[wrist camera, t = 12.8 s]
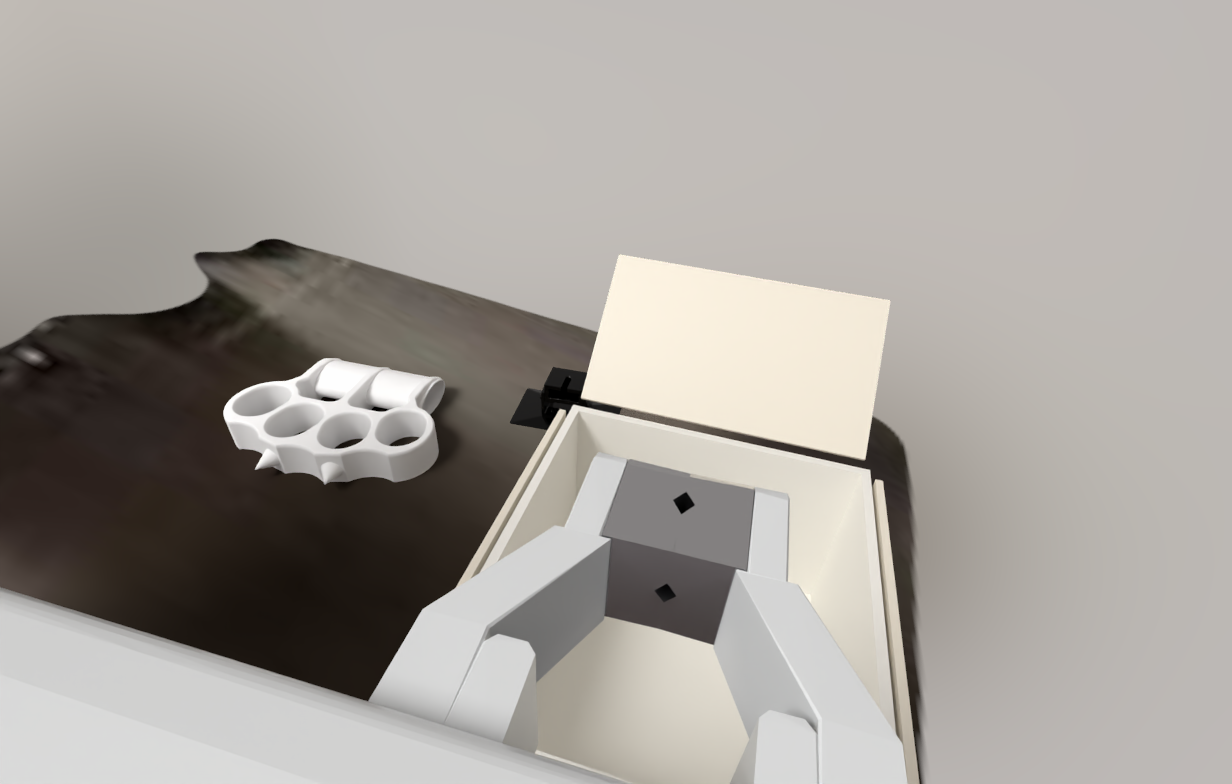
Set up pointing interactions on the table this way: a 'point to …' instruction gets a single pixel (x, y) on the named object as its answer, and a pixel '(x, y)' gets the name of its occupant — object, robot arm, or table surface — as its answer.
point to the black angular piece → (555, 399)
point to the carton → (680, 666)
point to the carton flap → (740, 354)
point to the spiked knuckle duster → (340, 422)
